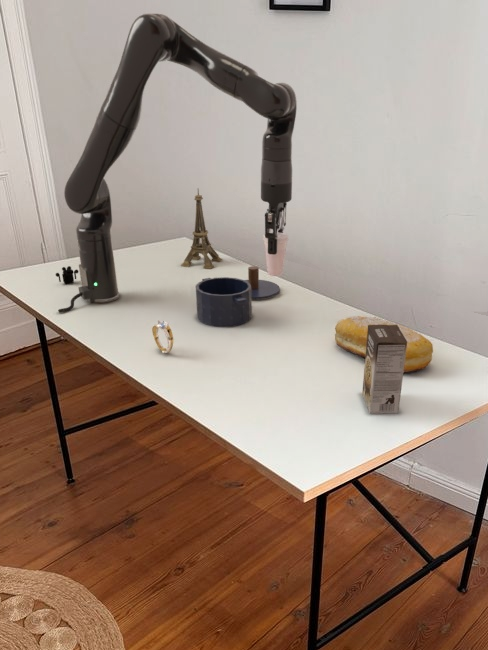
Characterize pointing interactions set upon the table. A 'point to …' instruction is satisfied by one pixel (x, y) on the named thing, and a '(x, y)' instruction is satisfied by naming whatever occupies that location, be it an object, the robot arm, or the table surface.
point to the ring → (165, 327)
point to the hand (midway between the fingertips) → (275, 249)
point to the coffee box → (384, 368)
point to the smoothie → (276, 255)
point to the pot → (224, 301)
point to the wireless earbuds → (67, 275)
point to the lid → (261, 285)
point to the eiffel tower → (202, 233)
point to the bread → (355, 328)
